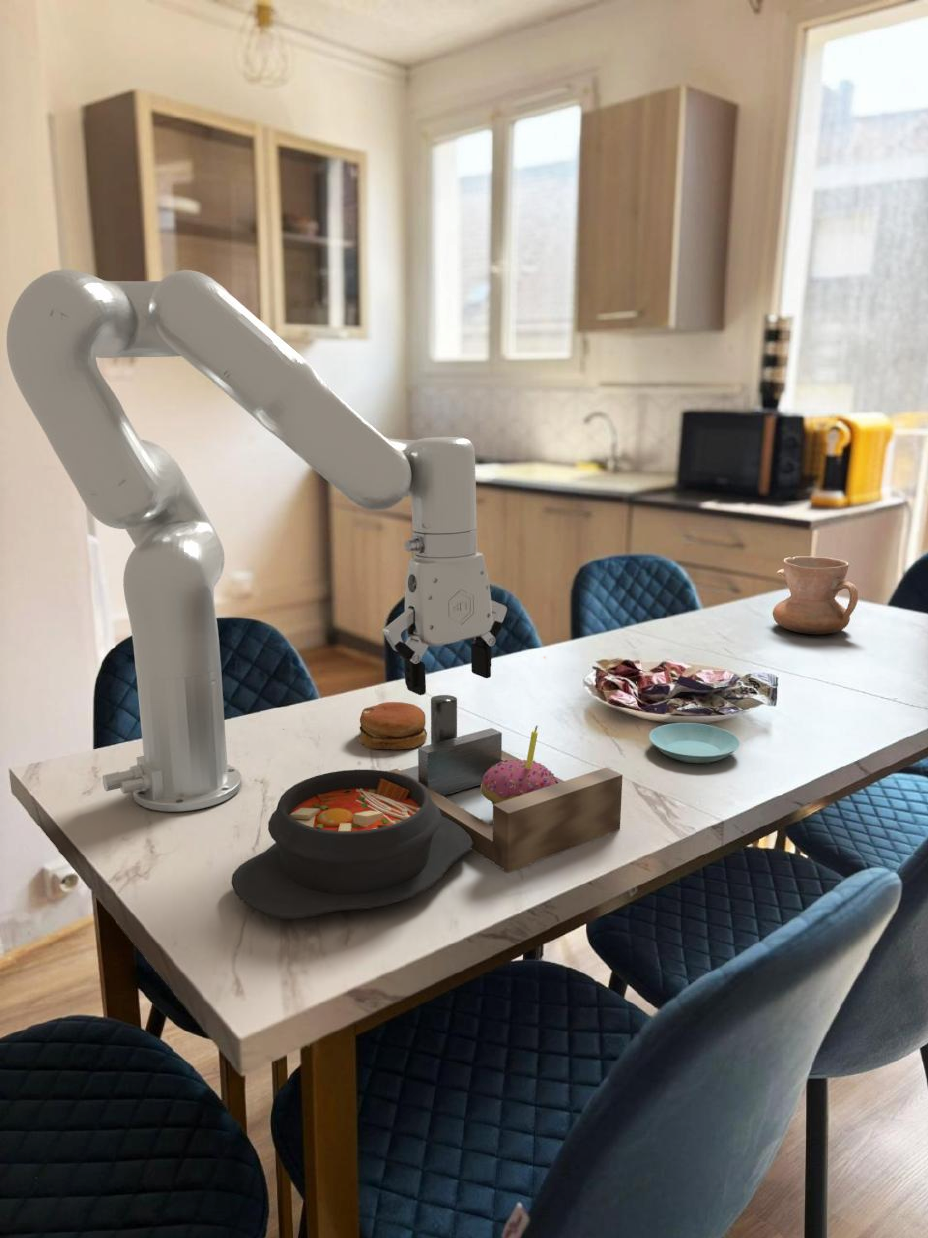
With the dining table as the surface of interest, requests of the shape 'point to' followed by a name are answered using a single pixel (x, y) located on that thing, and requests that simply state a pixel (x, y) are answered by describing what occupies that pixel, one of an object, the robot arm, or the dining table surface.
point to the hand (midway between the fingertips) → (449, 683)
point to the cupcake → (516, 777)
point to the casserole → (350, 846)
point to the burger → (393, 726)
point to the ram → (454, 752)
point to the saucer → (694, 742)
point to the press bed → (541, 818)
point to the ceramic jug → (815, 595)
